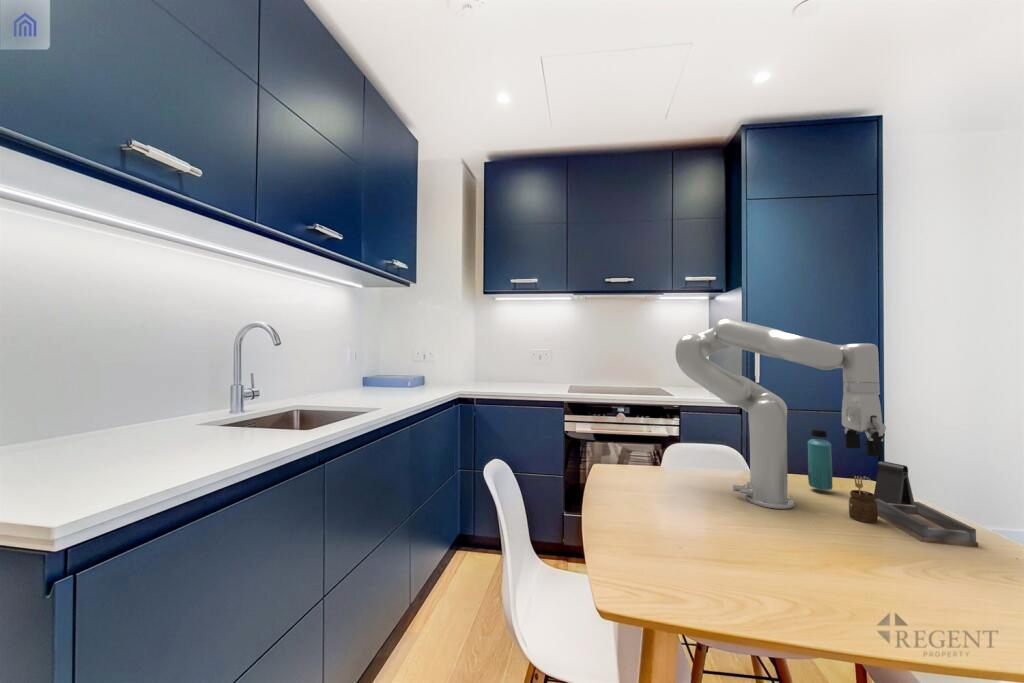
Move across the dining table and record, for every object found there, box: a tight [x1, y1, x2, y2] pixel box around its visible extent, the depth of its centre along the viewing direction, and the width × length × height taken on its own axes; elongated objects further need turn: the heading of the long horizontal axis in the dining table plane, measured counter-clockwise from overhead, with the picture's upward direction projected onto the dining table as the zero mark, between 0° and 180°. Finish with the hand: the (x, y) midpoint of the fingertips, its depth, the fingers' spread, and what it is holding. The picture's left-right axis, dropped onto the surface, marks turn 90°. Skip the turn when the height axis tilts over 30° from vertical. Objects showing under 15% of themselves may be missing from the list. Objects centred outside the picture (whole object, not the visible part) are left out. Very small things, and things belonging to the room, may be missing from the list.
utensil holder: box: [848, 475, 879, 524], centre depth 110 cm, size 6×6×12 cm
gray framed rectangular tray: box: [874, 499, 979, 548], centre depth 104 cm, size 11×18×4 cm, turn 166°
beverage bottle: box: [807, 428, 834, 491], centre depth 132 cm, size 6×7×20 cm
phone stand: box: [873, 460, 915, 505], centre depth 121 cm, size 9×6×12 cm, turn 111°
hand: (863, 451), depth 110 cm, fingers open, 9 cm apart
